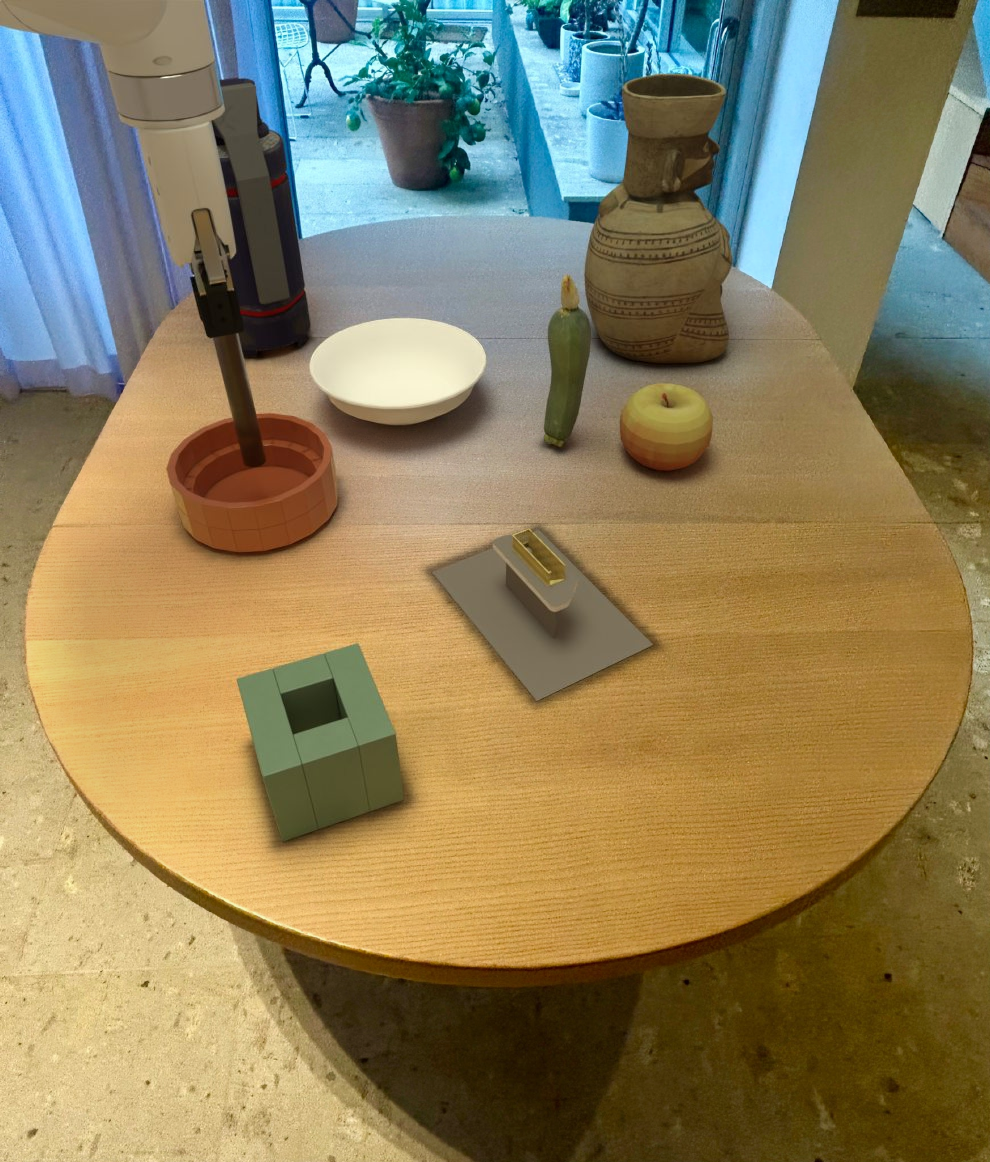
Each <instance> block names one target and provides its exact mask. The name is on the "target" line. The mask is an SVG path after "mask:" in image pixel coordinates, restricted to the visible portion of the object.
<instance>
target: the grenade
mask: <svg viewBox="0 0 990 1162" xmlns="http://www.w3.org/2000/svg"><path fill="white" fill-rule="evenodd" d="M219 81H220V86H221V91H222V96H223V102H224V107H225V111H224V112H223V114H222V115H221V116H220V117H218V118H216V119H214V120H212V121H211V122H212V127H213V131H214V136H215V140H216V145H217V149H218V154H219V159H220V164H221V168H222V173H223V178H224V183H225V188H226V194H227V199H228V204H229V210H230V215H231V221H232V227H233V233H234V239H235V246H236V253H235V255H234V257H233V258H232V259H230V258H229V257H228V255H227V260H228V265H229V269H230V274H231V279H232V283H233V285H235V288H236V292H237V297H238V302H239V306H240V311H241V316H242V320H243V325H244V330H243V332H241V333H238V334H239V339H240V343H241V348H242V352H243V357H244V358H245V357H246V358H257V357H258V353H257V352H261V351H271V350H274V349H279V348H283V347H288V346H290V345H292V344H294V343H297V346H298V347H300V346H301V345H303V344H304V343H305V342H306V341H307V339H308V333H309V332H310V330H311V318H310V312H309V311H310V310H309V304H308V297H307V292H306V290H305V288H306V283H305V277H304V270H303V264H302V257H301V250H300V245H299V244H300V243H299V239H298V238H299V237H298V230H297V224H296V217H295V213H294V212H295V210H294V203H293V197H292V190H291V185H290V178H289V177H290V176H289V174H288V173H287V171H288V164H287V158H286V150H285V146H284V145H285V144H284V138H283V136H282V135H281V134H280V133H278V132H277V131H275V130H272V129H271V128H269V125H268V124H267V123H266V122H264V121H263V119H262V118H261V113H260V107H259V101H258V100H259V99H258V95H257V86H256V82H255V81H254V80H253V79H249V78H246V77H245V78H241V77H240V78H239V77H229V78H223V79H219Z"/></svg>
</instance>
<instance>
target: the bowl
mask: <svg viewBox="0 0 990 1162" xmlns="http://www.w3.org/2000/svg"><path fill="white" fill-rule="evenodd" d="M487 365H488V364H487V354H486V352H485V349H484V347H483V345H482V344H481V343H480V342H479V341H478V339H477V338H476V337H474V336H473V335H471V334H470V333H469V332H467V331H465V330H464V329H461V328H459V327H457V326H454V325H451V324H449V323H446V322H442V321H437V320H432V319H426V318H414V317H394V318H393V317H391V318H384V319H376V320H371V321H365V322H362V323H359V324H358V323H357V324H354V325H352V326H349V327H346V328H344V329H342V330H339V331H337V332H335V333H334V334H332V335H330V336H329V337H327V338H325V340H324V341H322V342H321V343H320V344H318V346H317V347H316V349H315V350H314V352H313V353H312V355H311V357H310V361H309V365H308V368H309V376H310V377H311V380H312V381H313V383H314V384H315V385H316V386H317V387H318V389H320V391H322V392H324V393H325V394H326V395H327V397H328V399H329V401H330V402H331V403H332V404H333V405H334V406H335V407H336V408H337V409H339V410H340V411H342V412H343V413H345V414H347V415H349V416H351V417H354V418H357V419H359V420H364V421H368V422H372V423H376V424H381V425H387V426H388V425H389V426H407V425H415V424H419V423H424V422H427V421H429V420H432V419H435V418H437V417H440V416H442V415H445V414H447V413H449V412H451V411H452V410H454V409H456V408H458V407H459V406H460V405H461V404H462V403H464V402H465V401H466V400H467V399H468V398H469V396H470V395H471V393H472V391H473V388H474V386H475V385H476V384H477V383H478V381H479V380H480V379H481V378H482V376H483V375H484V373H485V370H486V368H487Z"/></svg>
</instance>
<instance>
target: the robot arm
mask: <svg viewBox="0 0 990 1162" xmlns="http://www.w3.org/2000/svg"><path fill="white" fill-rule="evenodd" d="M0 26H1V27H4V28H7V29H11V30H15V31H20V32H26V33H33V34H38V35H43V36H47V37H48V36H49V37H60V38H66V39H69V40H74V41H75V40H76V41H81V42H86V43H91V44H96V45H99V49H100V52H101V56H102V60H103V64H104V67H105V70H106V74H107V78H108V82H109V85H110V90H111V93H112V97H113V100H114V104H115V107H116V111H117V114H118V118H119V121H120V122H121V123H123V124H124V125H126V126H129V127H132V128H136V131H137V137H138V142H139V146H140V150H141V155H142V159H143V164H144V167H145V171H146V175H147V179H148V183H149V187H150V190H151V194H152V197H153V198H152V199H153V201H154V205H155V210H156V212H157V217H158V221H159V225H160V229H161V232H162V233H161V234H162V236H163V239H164V242H165V244H166V247H167V250H168V253H169V255H170V258H171V260H172V263H173V264H174V265H176V267H179V268H184V265H187V264H188V266H189V270H190V273H191V276H189V280H190V284H191V288H192V292H193V296H194V300H195V304H196V308H197V311H198V316H199V319H200V321H201V323H202V325H203V329H204V333H205V336H206V337H207V338H209V339H213V338H215V337H220V336H225V335H230V334H236V333H241V332H243V330H244V325H243V320H242V316H241V311H240V306H239V302H238V297H237V292H236V288H235V285H233V283H232V279H231V274H230V269H229V265H228V260H227V255H228V257H229V258H230V259H232V258H233V257H234V255H235V253H236V246H235V239H234V233H233V227H232V221H231V215H230V210H229V204H228V199H227V194H226V188H225V183H224V178H223V173H222V168H221V164H220V159H219V154H218V149H217V145H216V140H215V136H214V131H213V127H212V122H211V121H212V120H214V119H216V118H218V117H220V116H221V115H222V114H223V112H224V111H225V107H224V102H223V96H222V91H221V86H220V81H219V80H220V77H219V71H218V66H217V62H216V61H217V60H216V56H215V50H214V46H213V42H212V41H213V40H212V36H211V31H210V25H209V21H208V16H207V10H206V5H205V1H204V0H0ZM203 265H205V269H202V273H201V269H200V266H203Z"/></svg>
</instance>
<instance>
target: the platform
mask: <svg viewBox="0 0 990 1162" xmlns="http://www.w3.org/2000/svg"><path fill="white" fill-rule="evenodd" d="M431 574H432V575H433V576H434V577H435V579H436V580H437V581H438V582H439V583H440V584H441V586H442V587H443V588H444V590H445V591H446V592H447V593H448V594H449V595H450V596H451V598H452V599H453V600H454V601H455V603H456V604H457V605H458V607H459V608H460V609H461V610H462V611H463V613H464V614H465V615H466V616H467V618H468V619H469V620H470V622H472V624H473V625H474V626H475V627H476V629H477V630H478V632H480V633H481V635H482V636H483V637H484V638H485V640H486V642H488V643H489V644H490V646H491V648H493V649H494V651H495V652H496V653H497V655H498V656H499V657H500V659H502V661H503V662H504V663H505V664H506V665H507V667H508V668H509V669H510V670H511V672H512V673H513V674H514V675H515V676H516V678H517V679H518V680H519V681H520V683H521V684H522V685H523V687H524V688H525V689H526V690H527V691H528V692H529V694H530V695H531V696H532V698H533V699H534V700H535V701H536V702H539V701H541V700H542V699H544V698H546V697H549V696H551V695H553V694H554V693H557V692H559V691H561V690H563V689H565V688H568V687H569V686H572V685H573V684H576V683H577V682H579V681H581V680H584V679H586V678H588V677H590V676H593V675H595V674H597V673H598V672H600V671H602V670H604V669H606V668H608V667H610V666H613V665H615V664H617V663H619V662H621V661H623V660H625V659H627V658H629V657H631V656H634V655H636V654H638V653H639V652H641V651H643V650H646V649H648V648H650V647H652V646H654V644H653V643H652V642H651V641H650V640H649V639H648V638H647V637H646V636H645V635H644V634H643V632H641V631H640V630H639V629H638V628H637V627H636V626H635V625H634V624H633V623H632V622H631V621H630V620H629V619H628V618H627V616H625V615H624V613H622V612H621V611H620V610H619V609H618V608H617V606H616V605H614V604H613V602H612V601H610V600H609V599H608V598H607V597H606V596H605V595H604V593H602V592H601V591H600V590H599V588H597V586H595V585H594V583H592V582H591V580H590V579H589V578H587V577H586V575H584V574H583V573H582V572H581V570H579V569H578V568H577V566H575V565H574V564H573V563H572V562H571V561H570V560H569V558H568V557H567V556H566V555H564V554H563V552H562V551H560V549H558V548H557V546H556V545H554V544H553V542H552V541H551V540H549V539H548V538H547V537H546V535H545V534H543V532H542V531H541V530H540V529H537V530H535V531H533V530H531V528H526V529H524V530H521V531H518V532H516V533H514V534H505V535H502V536H499V537H497V538H495V539H493V540H492V548H489V549H487V550H484V551H481V552H479V553H476V554H474V555H472V556H468V557H466V558H464V559H461V560H459V561H457V562H454V563H451V564H449V565H446V566H443V567H441V568H438V569H436V570H434V571H432V572H431Z"/></svg>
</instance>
